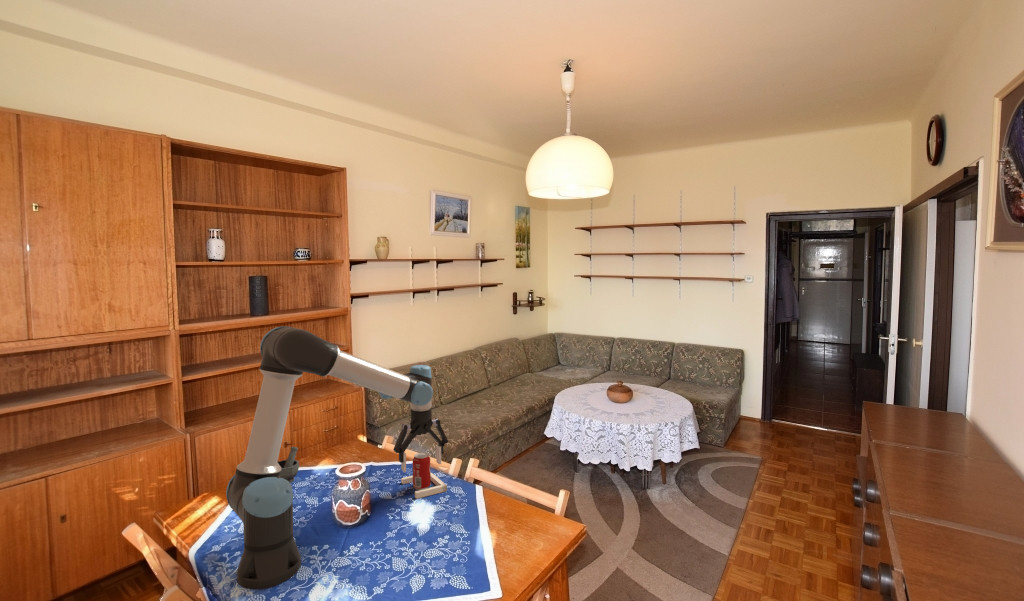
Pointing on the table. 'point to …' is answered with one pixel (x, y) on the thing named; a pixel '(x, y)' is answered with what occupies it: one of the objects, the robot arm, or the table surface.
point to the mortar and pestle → (289, 466)
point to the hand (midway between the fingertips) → (421, 466)
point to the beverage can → (421, 471)
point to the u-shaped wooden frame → (429, 491)
